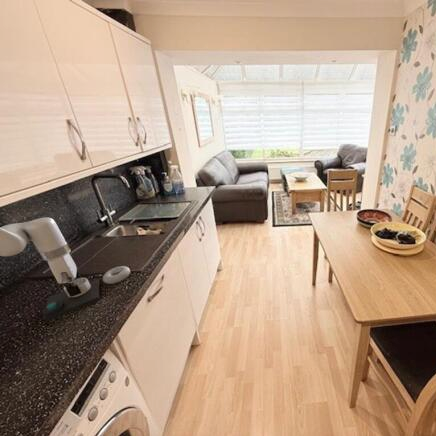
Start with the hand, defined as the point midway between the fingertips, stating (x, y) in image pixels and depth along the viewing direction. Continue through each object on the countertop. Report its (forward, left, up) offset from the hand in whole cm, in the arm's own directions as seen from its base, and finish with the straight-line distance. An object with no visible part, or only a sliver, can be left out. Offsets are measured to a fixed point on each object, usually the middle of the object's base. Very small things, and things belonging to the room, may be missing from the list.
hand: (77, 287), depth 93 cm
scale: (0, -3, -4) cm, 5 cm away
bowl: (0, 0, -2) cm, 2 cm away
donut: (+6, +11, -4) cm, 13 cm away
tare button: (0, -9, -1) cm, 9 cm away
